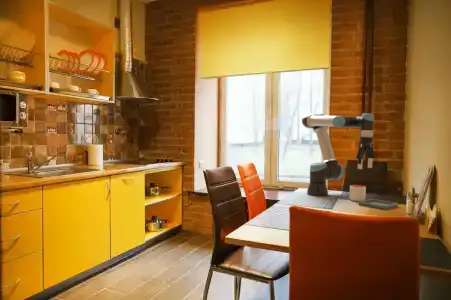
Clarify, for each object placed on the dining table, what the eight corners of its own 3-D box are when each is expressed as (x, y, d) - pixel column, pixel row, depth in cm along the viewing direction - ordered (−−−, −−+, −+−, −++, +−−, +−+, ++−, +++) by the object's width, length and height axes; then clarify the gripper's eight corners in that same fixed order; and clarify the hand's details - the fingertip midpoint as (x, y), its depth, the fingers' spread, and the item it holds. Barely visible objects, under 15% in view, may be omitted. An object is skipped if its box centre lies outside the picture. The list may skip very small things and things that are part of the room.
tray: (358, 205, 208) (358, 201, 208) (372, 202, 218) (372, 198, 218) (384, 210, 195) (385, 206, 195) (397, 206, 205) (398, 203, 205)
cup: (366, 202, 217) (367, 187, 216) (350, 201, 219) (351, 186, 218) (363, 199, 227) (364, 185, 226) (348, 198, 229) (348, 184, 228)
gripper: (362, 136, 208) (361, 170, 210) (381, 136, 224) (379, 167, 226) (351, 136, 214) (350, 168, 216) (370, 136, 230) (368, 166, 232)
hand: (365, 168), depth 221 cm, fingers open, 13 cm apart
